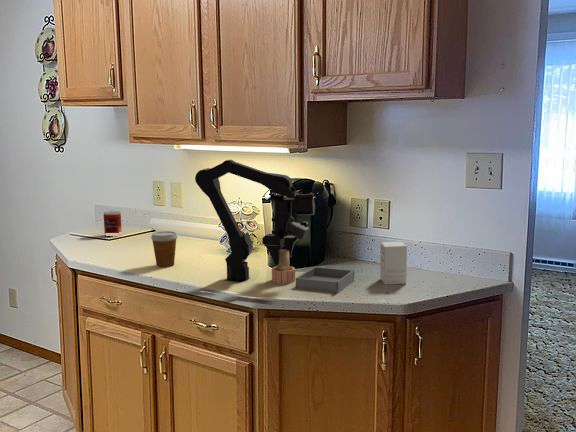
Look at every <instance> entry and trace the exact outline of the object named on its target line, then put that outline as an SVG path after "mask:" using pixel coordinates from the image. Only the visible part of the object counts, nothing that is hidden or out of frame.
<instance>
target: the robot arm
mask: <svg viewBox="0 0 576 432" xmlns="http://www.w3.org/2000/svg"><path fill="white" fill-rule="evenodd" d="M227 174H232V175H235V176H238V177H239V178H244V179H245V180H246V179H247V180H249V181H252V182H255V183H258V184H260V185H262V186H264V187H265V188H267V189H268V190H270V191H271V192H273V193H271V195H270V196H269V197H268V198H267V200H266V201H269V202H273V217H271V222H273V230H271V233H267V234H265V235H264V236H263V237H262V239H261V240H262V241H261V242H262V245H263V246H264V247H266V249H267V251H268V252H269V254H270V256H271V259H272V261H273V262H274V264H275V265H279V260H280V251H281V250H282V249H285V250H289V260H290V259H291V257H292V253H293V250H294V246H295V244H296V242H297V241H299V240H303V239H305V238H307V236H308V233H309V232H310V231H311V230H310V226H309V222H308V221H305V220H304V221H302V222H296V220H295V217H294V216H292V211H293V212H294V213H295V214H296V216H314V215H315V214H316V213H315V211H316V210H315V209H316V203H315V198H314V195H315V194H314V193H305V194H304V193H302V194H301V193H299V192H298V191H297V190H296V188H295V187H294V186H293V180H292V179H291V177H290V176H289V175H286V174H281V173H280V174H279V173H272V172H266V171H263V170H260V169H257V168H254V167H251V166H249V165H246V164H242V163H240V162H237V161H234V160H233V159H227V160H224V161H223V162H221V163H219V164H218V165H214V166H213V167H207V168H203V169H200V170H199V171H197V173H196V174H195V177H194V180H195V183H196V185H197V186H198V187H199V189H200V190H201V191H202V192H203V194H205V196H206V197H208V198H209V200H210V202H211V205H212V206H213V209H214V211H215V213H216V214H217V216H218V218H219V220H220V222H221V224H222V227H223V229H224V230H225V232H226V234H227V236H228V242H229V243H228V245H229V248H230V250H231V253H229V255H228V256H226V258H225V263H226V279H224V281H225V282H232V283H233V282H235V283H243V282H245V281H248V280H249V279H251V277H250V267H249V266H248V261H247V259H248V257H249V256H250V255H251V254H252V253H253V250H254V245H253V244H254V241H253V240H252V238H251V235H250V233H249V232H248V231H247V232H245V233H244V232H243V231H242V229H240V227H239V225H238V222H237V221H236V218H235V217H234V214H233V213H232V211H231V209H230V207H229V205H228V202H227V201H226V199H225V197H224V195H223V193H222V189H221V184H220V183H221V182H220V179H219V178H221V177H223V176H225V175H227Z"/></svg>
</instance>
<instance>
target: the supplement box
mask: <svg viewBox="0 0 576 432" xmlns="http://www.w3.org/2000/svg"><path fill="white" fill-rule="evenodd" d="M407 257H408V246H407V245H406V244H405V243H404V242H403V241H386V242H385V241H380V266H379V267H380V271H379V273H380V274H379V276H380V280H381V281H382V283H383V284H384V285H406V284H407V270H408V269H407V261H408V260H407Z"/></svg>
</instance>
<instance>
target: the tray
mask: <svg viewBox="0 0 576 432" xmlns="http://www.w3.org/2000/svg"><path fill="white" fill-rule="evenodd" d="M353 282H355V270H352V269H343V268H342V269H341V268H332V267H330V268H329V267H321V266H313V267H312V268H310V269H308V270H307V271H305V272H303V273H302V274H300V275H299V276H296V277H295V288H297V289H307V290H317V291H324V292H332V293H333V294H340V292H342V291H343V290H345V289H346V288H347V287H348V286H349V285H351V284H352V283H353Z"/></svg>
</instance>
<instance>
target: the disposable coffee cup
mask: <svg viewBox="0 0 576 432" xmlns="http://www.w3.org/2000/svg"><path fill="white" fill-rule="evenodd" d="M150 239H151V241H152V246H153V251H154V256H155V264H156V267H159V268H170V267H174V266H175V258H176V247H177V245H176V244H177V239H178V235H177V232H175V231H166V230H165V231H156V232H155V231H154V232H152V234H151V237H150Z"/></svg>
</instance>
